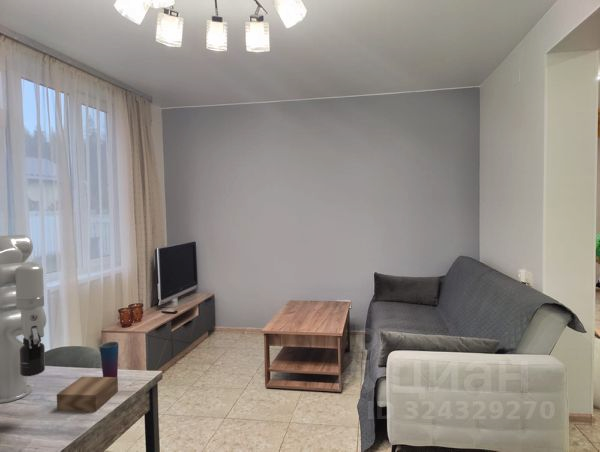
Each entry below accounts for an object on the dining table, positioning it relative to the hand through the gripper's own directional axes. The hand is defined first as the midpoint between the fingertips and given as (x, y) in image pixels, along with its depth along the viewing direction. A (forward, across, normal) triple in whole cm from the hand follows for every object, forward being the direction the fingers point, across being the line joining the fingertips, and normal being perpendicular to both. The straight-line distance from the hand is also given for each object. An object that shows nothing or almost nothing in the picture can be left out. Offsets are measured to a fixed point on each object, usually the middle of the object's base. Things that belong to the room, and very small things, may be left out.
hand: (32, 355), depth 127 cm
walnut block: (+21, -1, -16) cm, 27 cm away
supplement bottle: (+6, 0, 0) cm, 6 cm away
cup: (+21, +11, -27) cm, 37 cm away
